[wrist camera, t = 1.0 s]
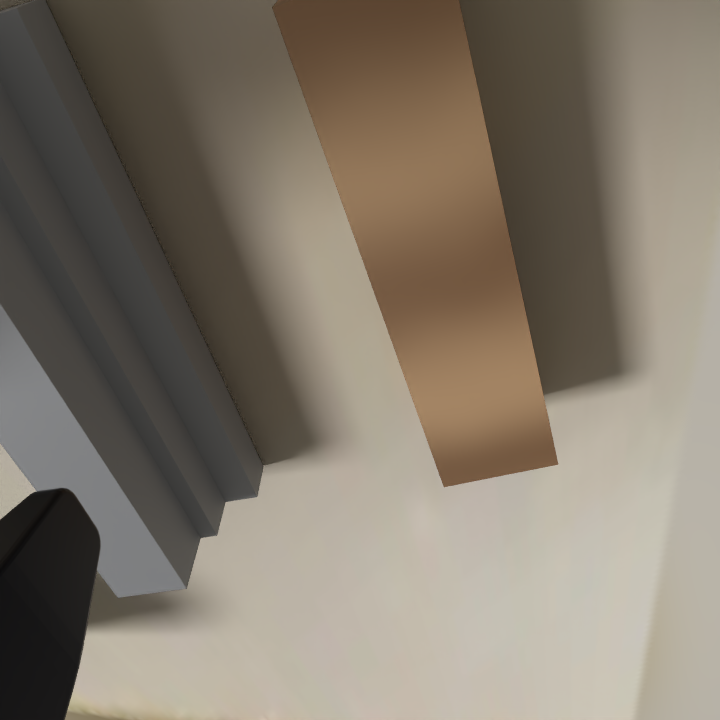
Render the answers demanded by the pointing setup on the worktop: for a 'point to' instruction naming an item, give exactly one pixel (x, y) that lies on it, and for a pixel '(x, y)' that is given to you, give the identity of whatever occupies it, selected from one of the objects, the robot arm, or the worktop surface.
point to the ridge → (102, 332)
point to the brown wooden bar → (426, 220)
